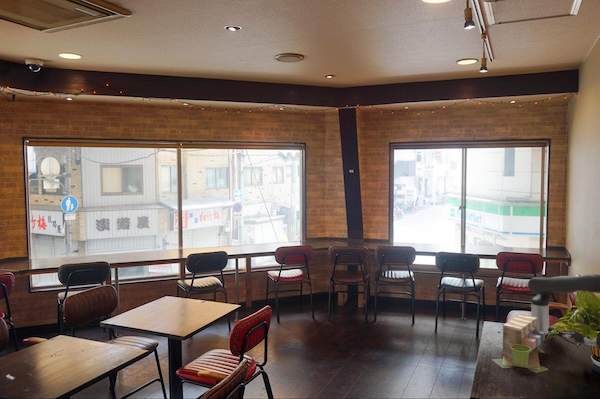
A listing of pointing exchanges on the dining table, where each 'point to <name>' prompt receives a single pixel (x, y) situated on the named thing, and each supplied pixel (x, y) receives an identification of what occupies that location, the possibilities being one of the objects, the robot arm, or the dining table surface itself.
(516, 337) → the console
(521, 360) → the plant pot
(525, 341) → the key terracotta
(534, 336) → the key slate
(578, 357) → the dining table surface
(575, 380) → the dining table surface
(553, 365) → the dining table surface
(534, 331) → the key charcoal
